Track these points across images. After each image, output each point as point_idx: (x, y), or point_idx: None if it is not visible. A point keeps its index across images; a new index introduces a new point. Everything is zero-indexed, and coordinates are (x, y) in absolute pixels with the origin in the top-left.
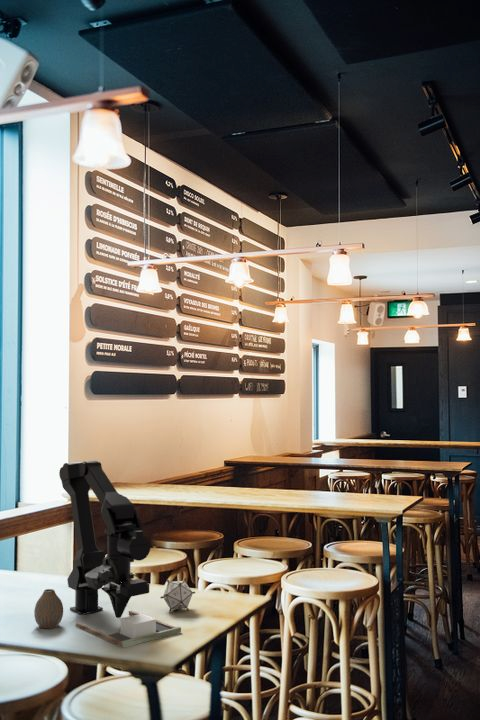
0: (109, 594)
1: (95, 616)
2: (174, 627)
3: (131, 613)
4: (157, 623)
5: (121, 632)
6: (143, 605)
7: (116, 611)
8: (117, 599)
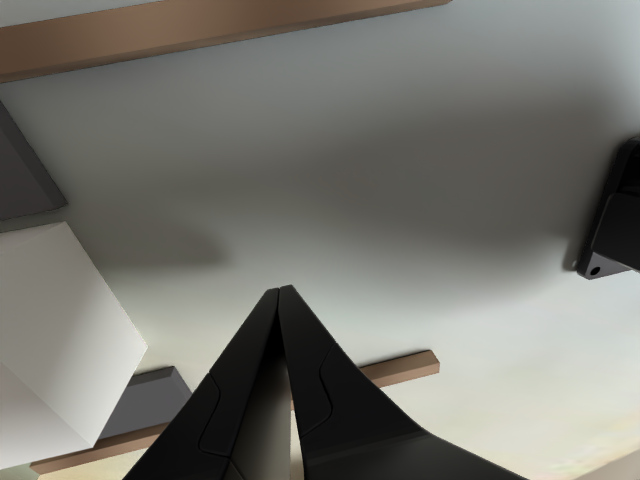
0: (358, 466)
1: (527, 207)
2: (63, 464)
3: (413, 362)
4: None
5: (35, 231)
6: (488, 408)
7: (261, 317)
8: (136, 476)
